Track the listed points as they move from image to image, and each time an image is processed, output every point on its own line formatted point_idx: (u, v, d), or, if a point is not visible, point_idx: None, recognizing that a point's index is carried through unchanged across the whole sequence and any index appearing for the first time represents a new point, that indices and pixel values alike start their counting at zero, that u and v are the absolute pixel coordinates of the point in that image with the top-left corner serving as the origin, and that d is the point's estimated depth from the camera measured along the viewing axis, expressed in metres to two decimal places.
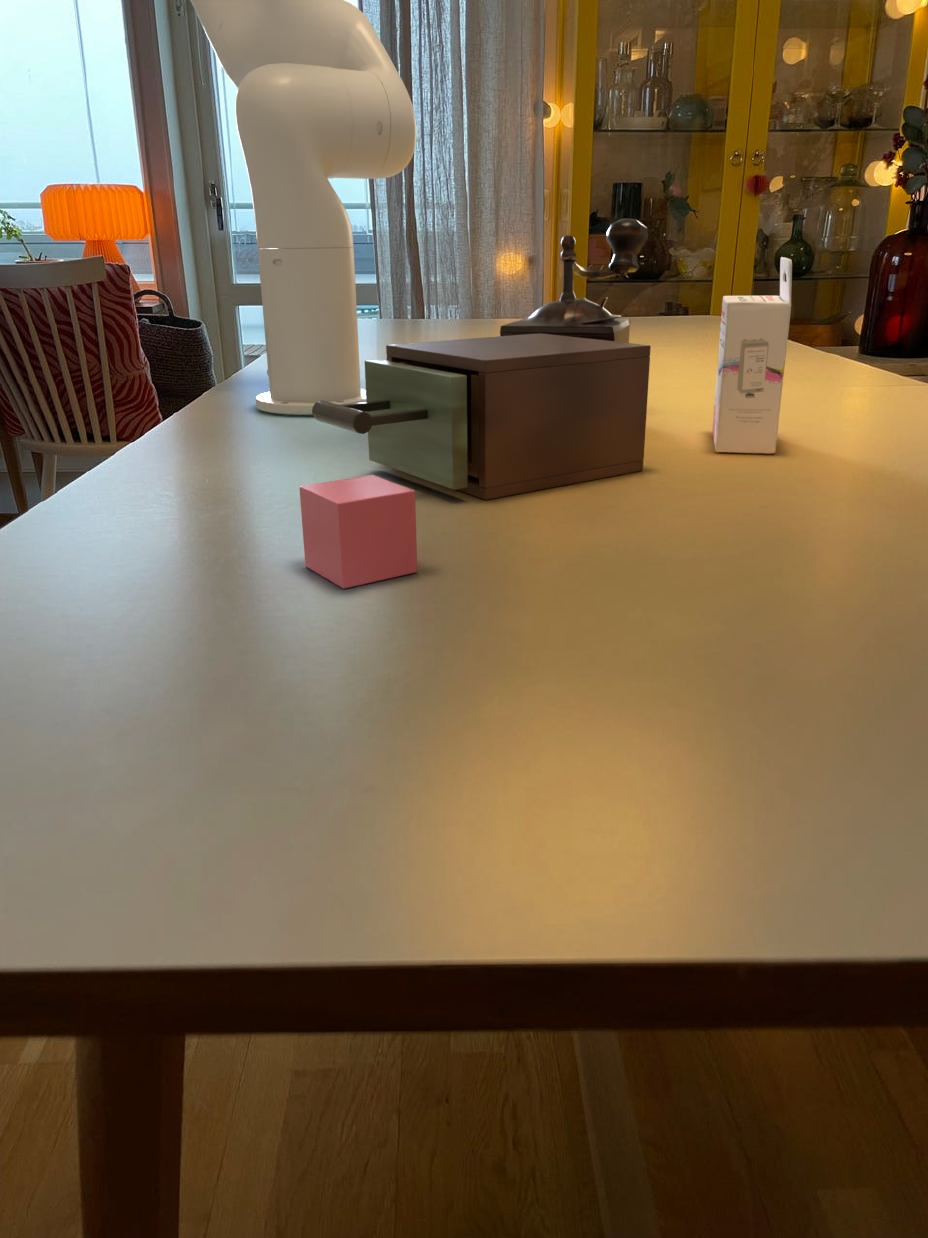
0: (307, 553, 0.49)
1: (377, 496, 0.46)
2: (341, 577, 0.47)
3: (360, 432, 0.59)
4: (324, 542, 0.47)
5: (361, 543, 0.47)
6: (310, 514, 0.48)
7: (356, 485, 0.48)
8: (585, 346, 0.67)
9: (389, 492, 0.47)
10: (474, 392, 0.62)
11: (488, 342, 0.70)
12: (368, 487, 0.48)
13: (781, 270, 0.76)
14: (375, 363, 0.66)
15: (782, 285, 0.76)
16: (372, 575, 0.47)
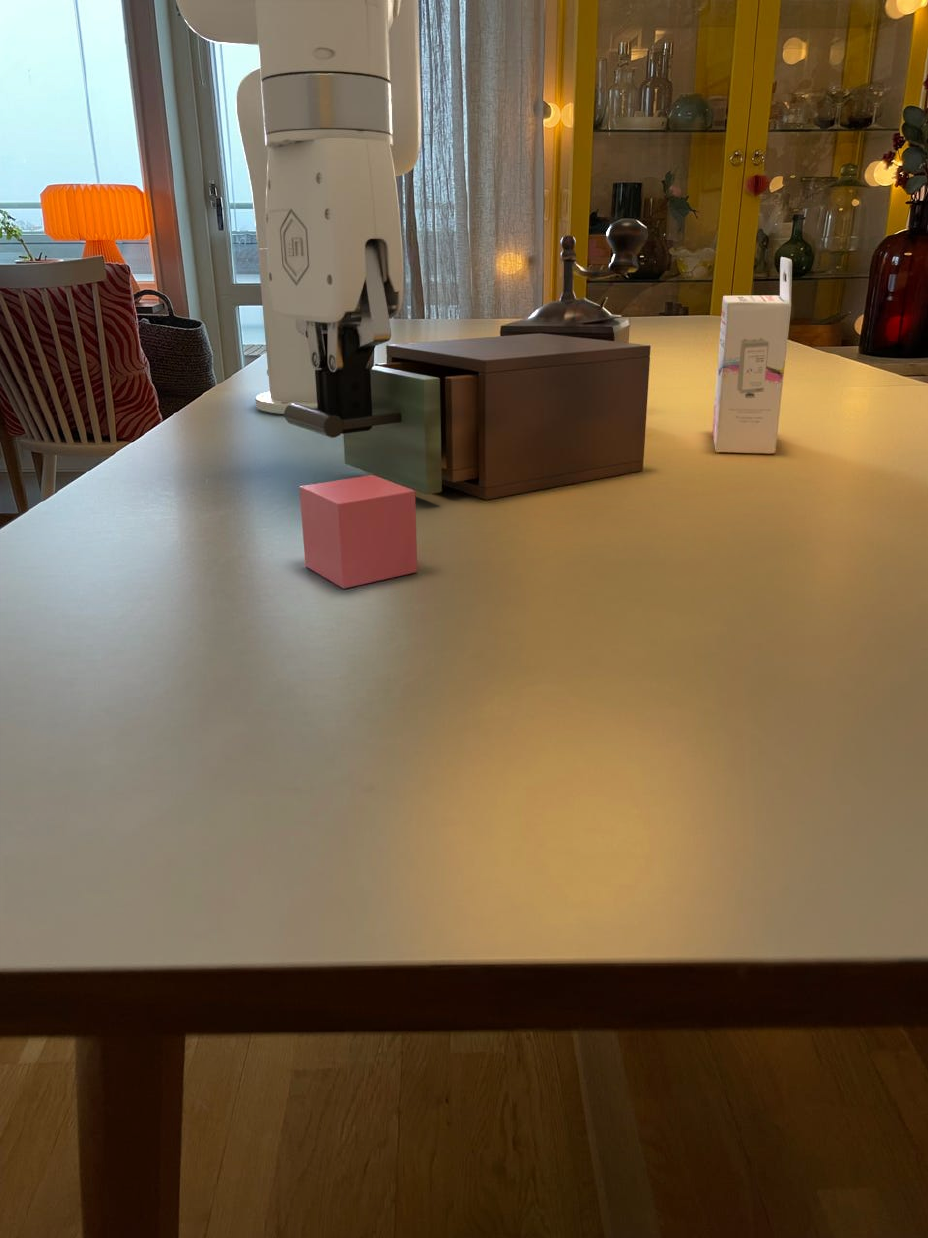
0: (307, 553, 0.49)
1: (377, 496, 0.46)
2: (341, 577, 0.47)
3: (331, 436, 0.58)
4: (324, 542, 0.47)
5: (361, 543, 0.47)
6: (310, 514, 0.48)
7: (356, 485, 0.48)
8: (585, 346, 0.67)
9: (389, 492, 0.47)
10: (448, 395, 0.60)
11: (488, 342, 0.70)
12: (368, 487, 0.48)
13: (781, 270, 0.76)
14: None
15: (782, 285, 0.75)
16: (372, 575, 0.47)
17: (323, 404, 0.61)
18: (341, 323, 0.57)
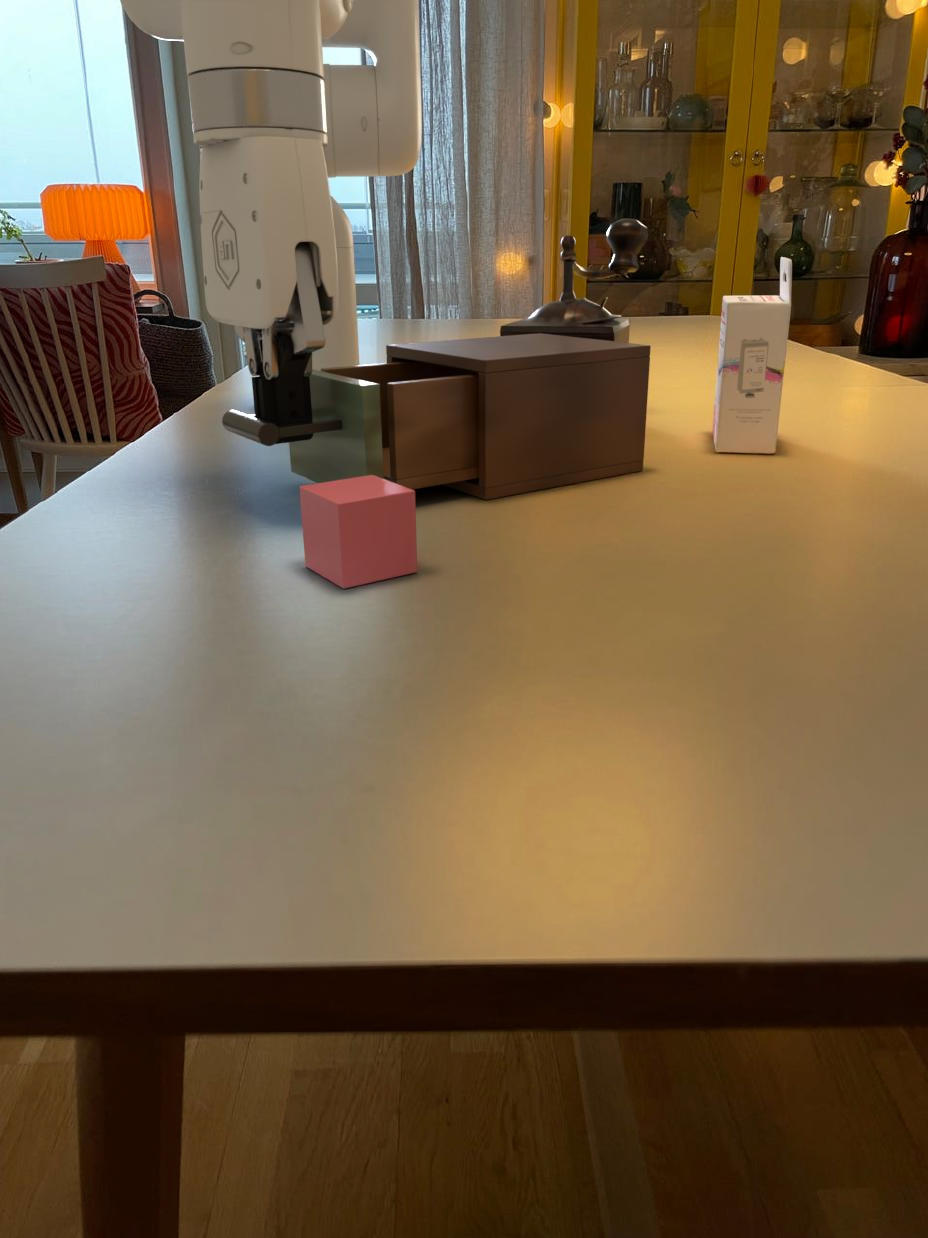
0: (307, 553, 0.49)
1: (377, 496, 0.46)
2: (341, 577, 0.47)
3: (266, 444, 0.56)
4: (324, 542, 0.47)
5: (361, 543, 0.47)
6: (310, 514, 0.48)
7: (356, 485, 0.48)
8: (585, 346, 0.67)
9: (389, 492, 0.47)
10: (390, 401, 0.58)
11: (488, 342, 0.70)
12: (368, 487, 0.48)
13: (781, 270, 0.76)
14: None
15: (782, 285, 0.75)
16: (372, 575, 0.47)
17: (260, 413, 0.59)
18: (275, 329, 0.55)
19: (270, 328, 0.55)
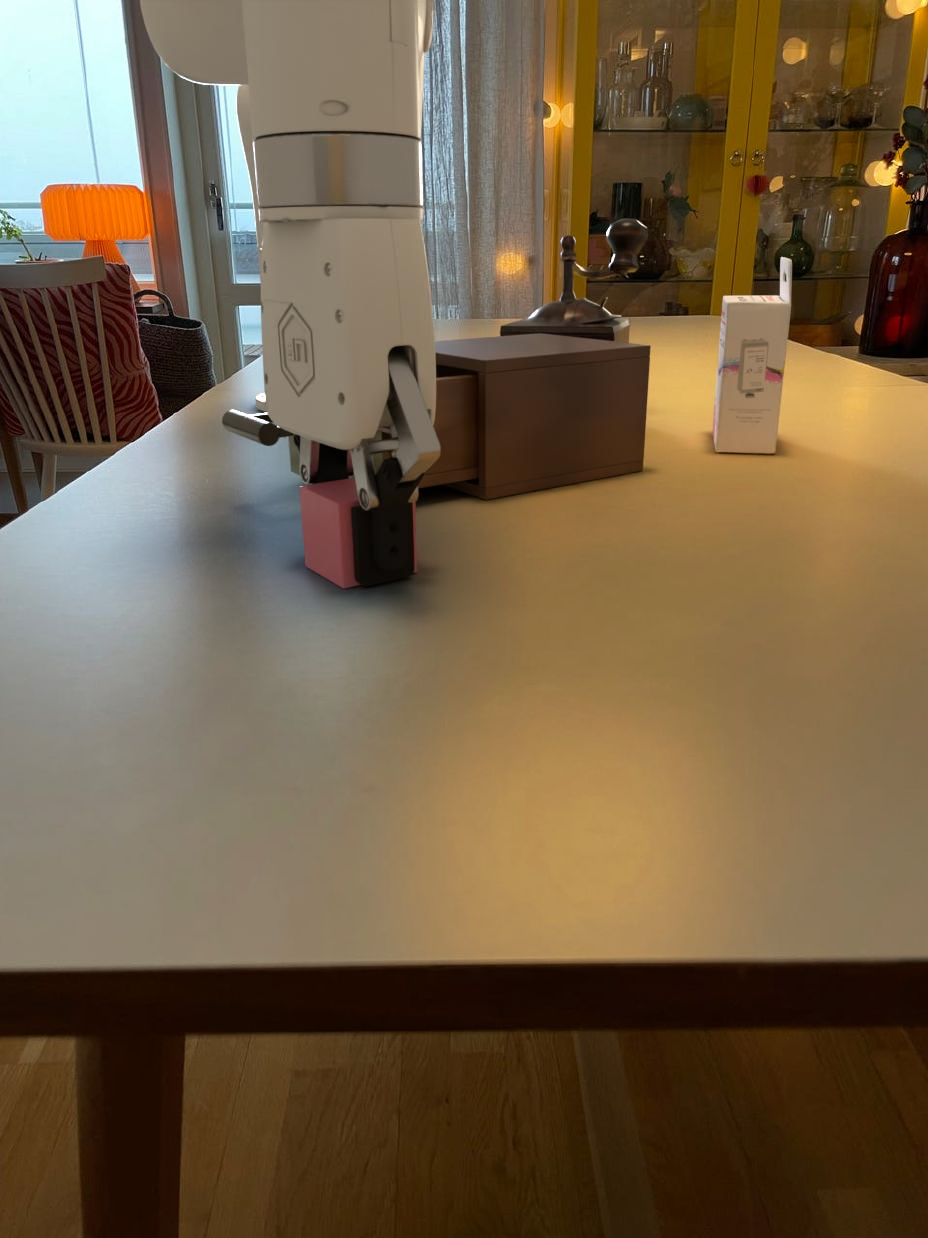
0: (307, 553, 0.49)
1: None
2: (341, 577, 0.47)
3: (266, 444, 0.56)
4: (324, 542, 0.47)
5: None
6: (310, 514, 0.48)
7: None
8: (585, 346, 0.67)
9: None
10: None
11: (488, 342, 0.70)
12: None
13: (781, 270, 0.76)
14: None
15: (782, 285, 0.75)
16: None
17: None
18: (367, 443, 0.44)
19: (361, 443, 0.44)
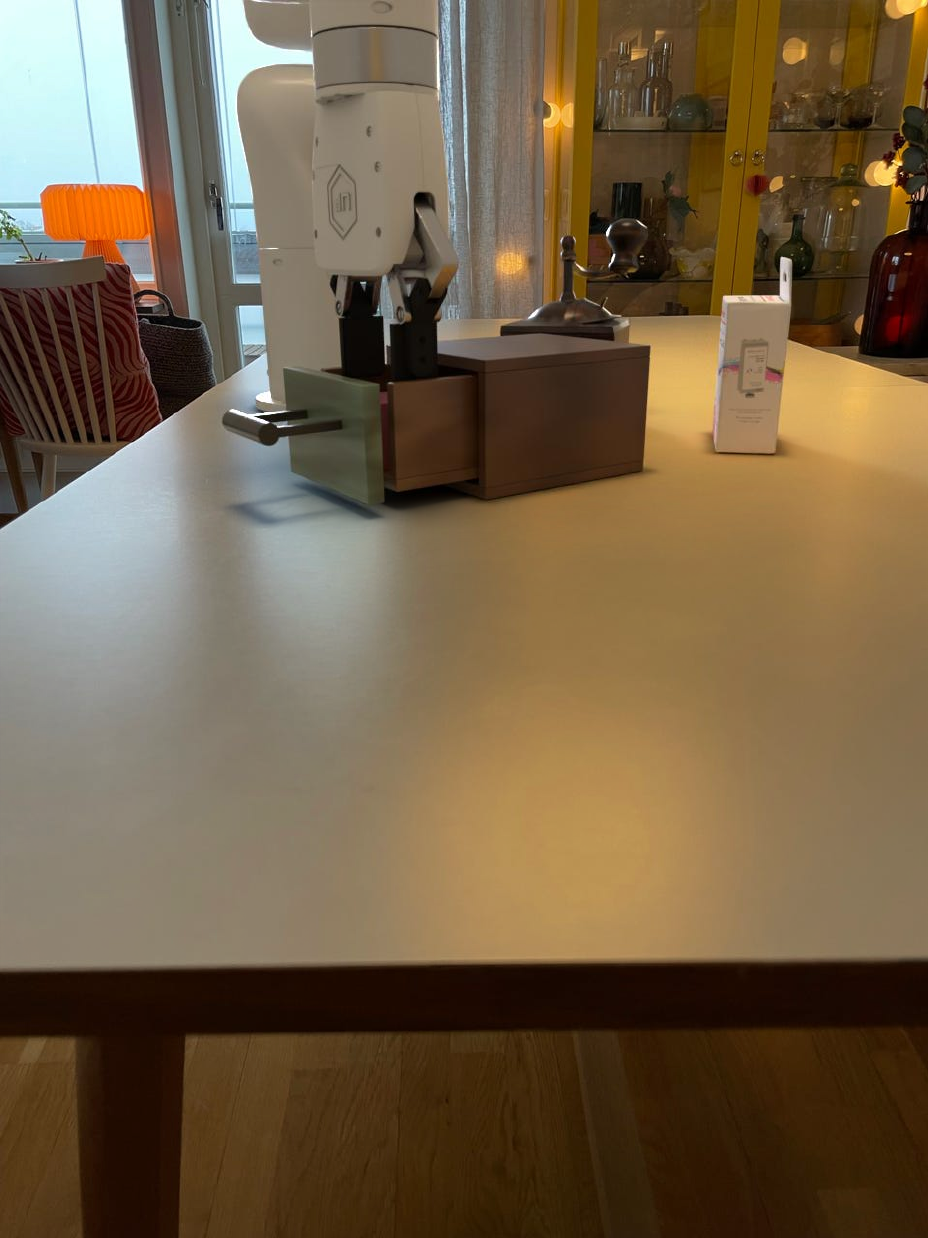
0: None
1: None
2: None
3: (266, 444, 0.56)
4: None
5: None
6: None
7: None
8: (585, 346, 0.67)
9: None
10: (390, 401, 0.58)
11: (488, 342, 0.70)
12: None
13: (781, 270, 0.76)
14: (292, 370, 0.63)
15: (782, 285, 0.75)
16: None
17: (346, 351, 0.64)
18: (399, 269, 0.57)
19: (395, 269, 0.57)
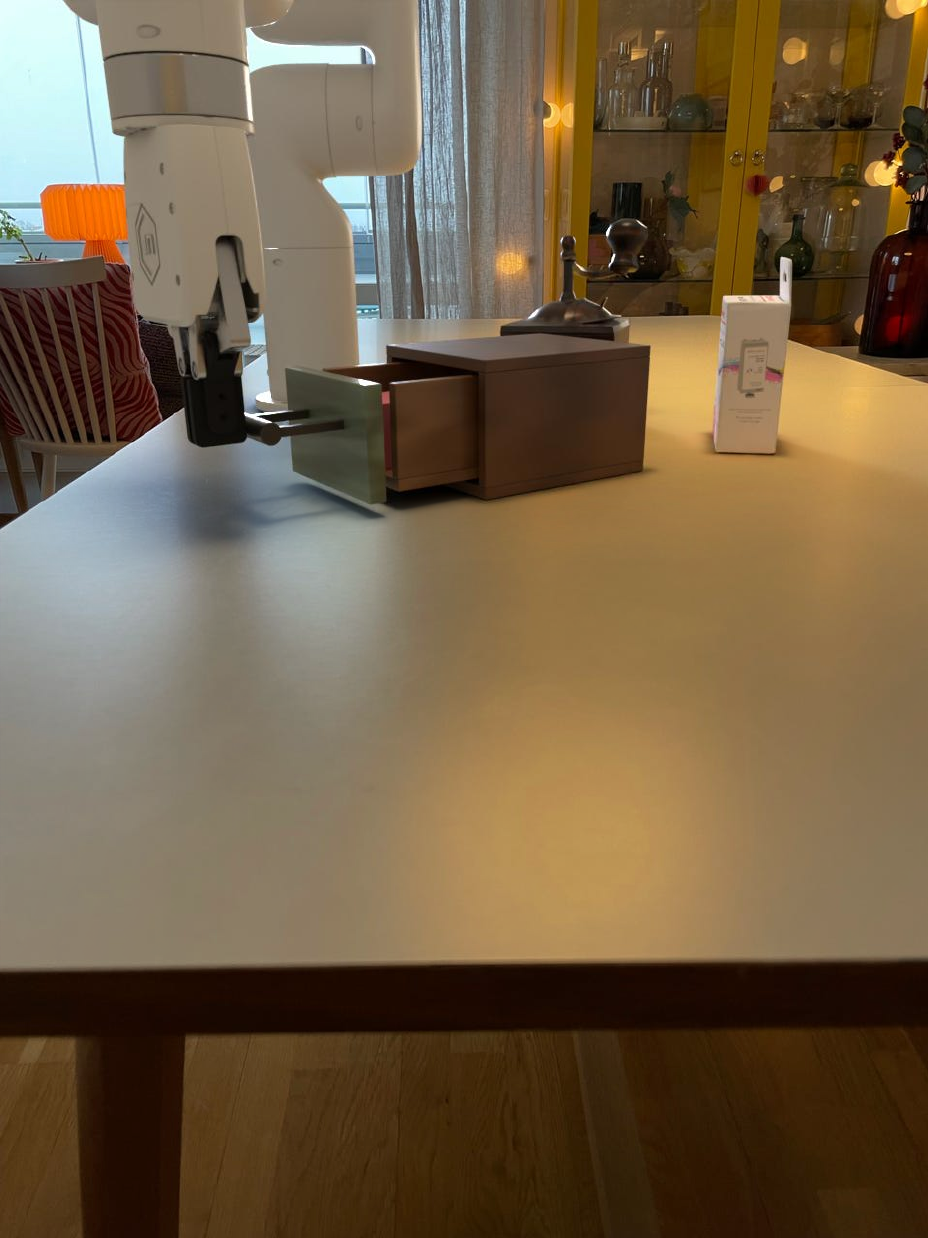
0: None
1: None
2: None
3: (269, 444, 0.56)
4: None
5: None
6: None
7: None
8: (585, 346, 0.67)
9: None
10: (392, 401, 0.58)
11: (488, 342, 0.70)
12: None
13: (781, 270, 0.76)
14: (294, 370, 0.63)
15: (782, 285, 0.75)
16: None
17: (190, 414, 0.56)
18: (201, 327, 0.53)
19: (195, 326, 0.53)
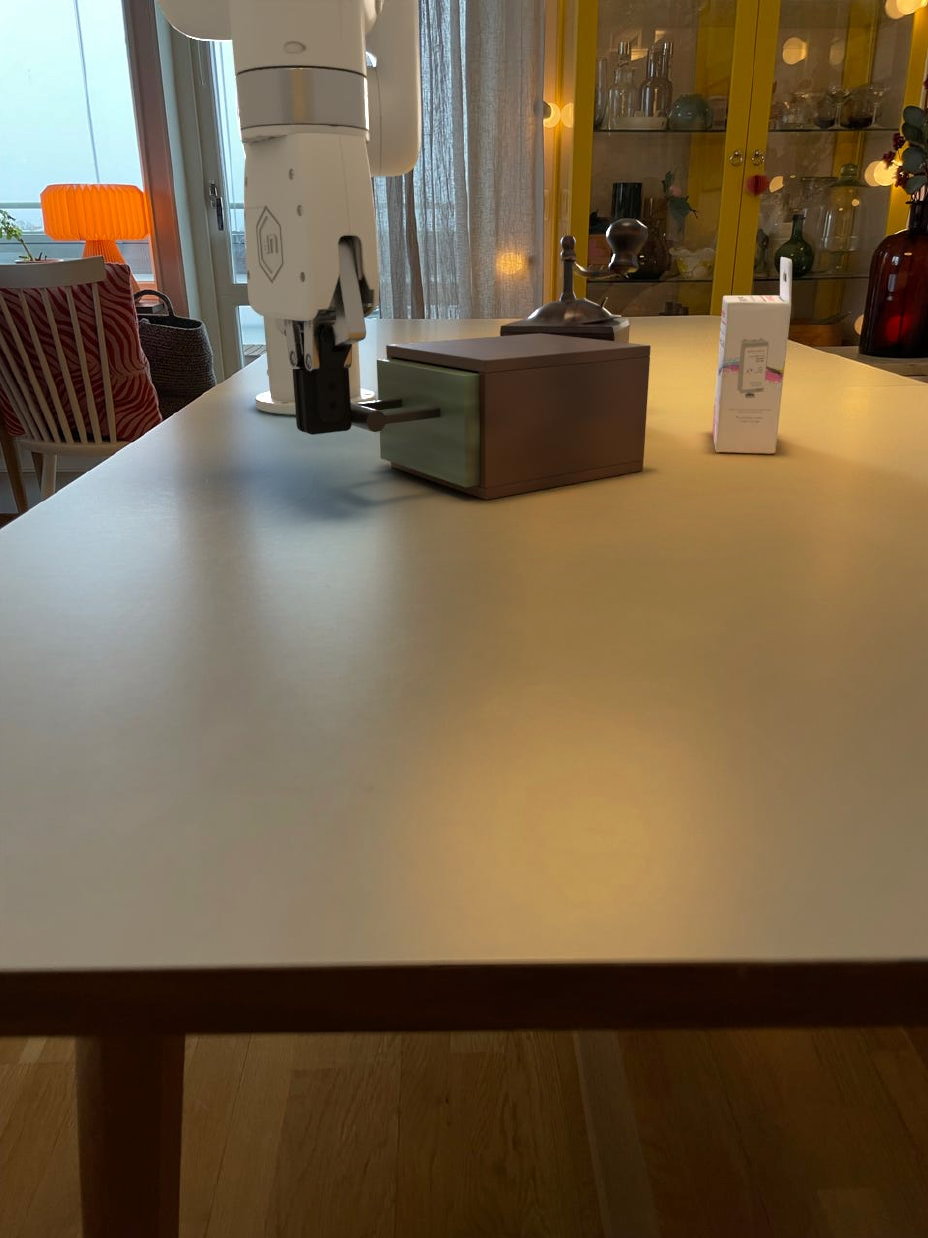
0: None
1: None
2: None
3: (374, 430, 0.60)
4: None
5: None
6: None
7: None
8: (585, 346, 0.67)
9: None
10: None
11: (488, 342, 0.70)
12: None
13: (781, 270, 0.76)
14: (387, 362, 0.67)
15: (782, 285, 0.75)
16: None
17: (301, 404, 0.60)
18: (317, 321, 0.57)
19: (312, 320, 0.56)
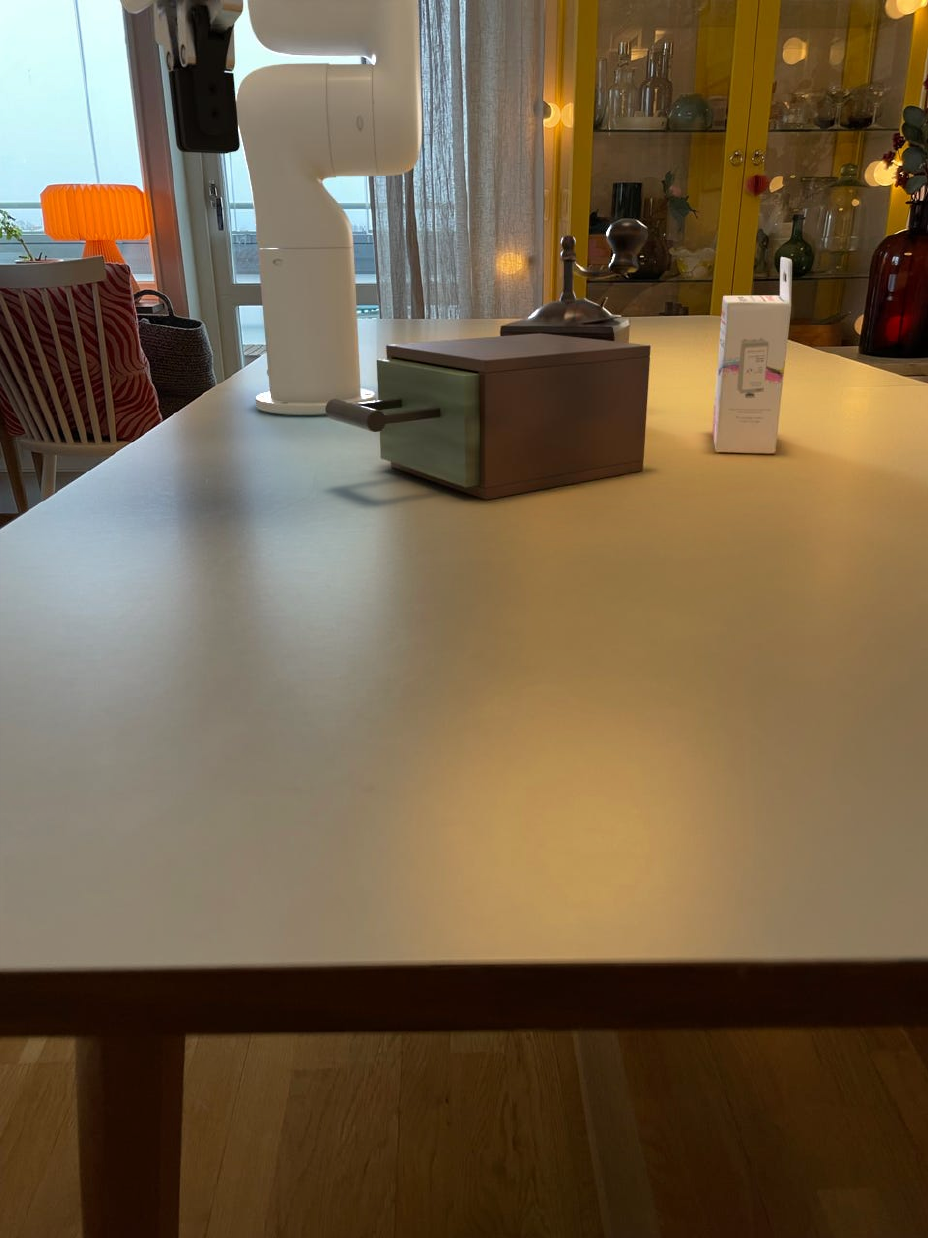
0: None
1: None
2: None
3: (374, 430, 0.60)
4: None
5: None
6: None
7: None
8: (585, 346, 0.67)
9: None
10: None
11: (488, 342, 0.70)
12: None
13: (781, 270, 0.76)
14: (387, 362, 0.67)
15: (782, 285, 0.75)
16: None
17: (179, 114, 0.53)
18: None
19: None
